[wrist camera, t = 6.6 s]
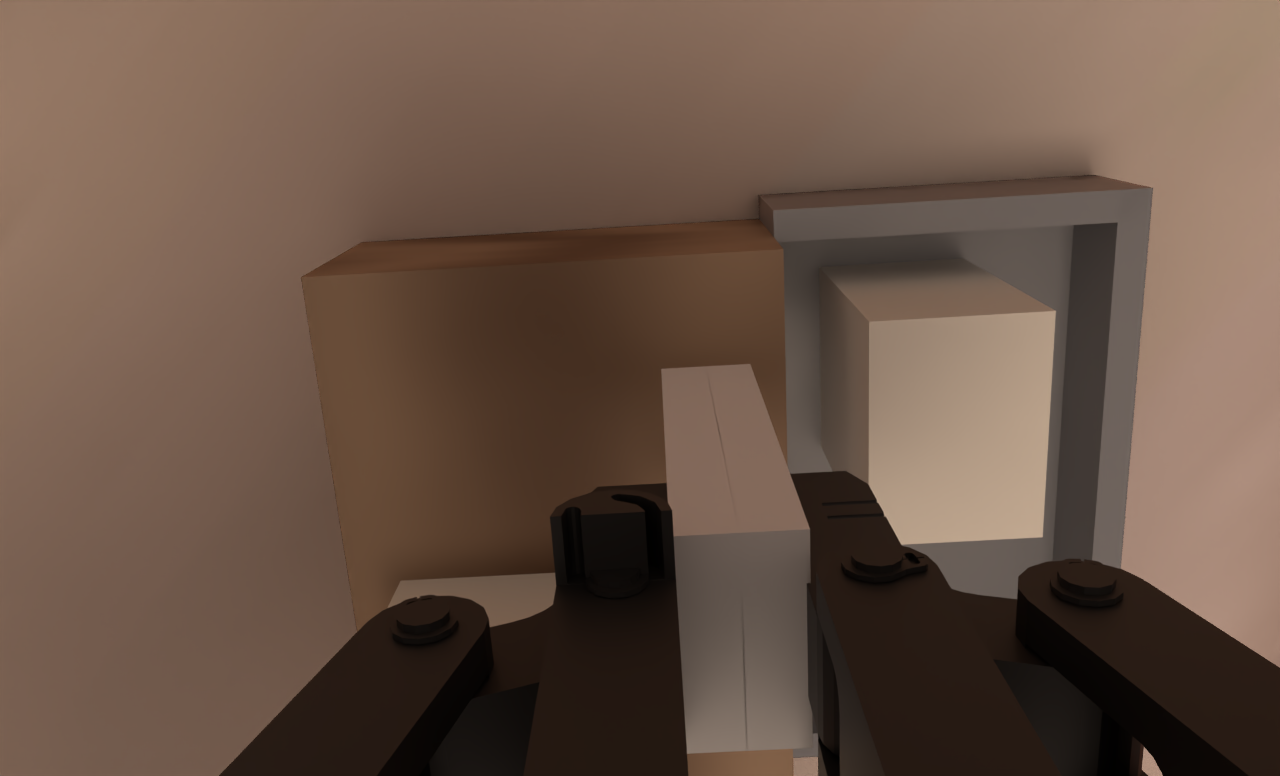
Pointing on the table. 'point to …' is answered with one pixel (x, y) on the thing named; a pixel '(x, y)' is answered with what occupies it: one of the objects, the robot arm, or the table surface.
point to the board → (524, 388)
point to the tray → (1036, 265)
